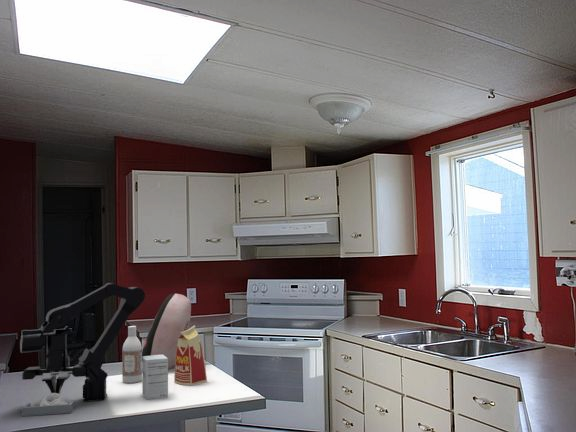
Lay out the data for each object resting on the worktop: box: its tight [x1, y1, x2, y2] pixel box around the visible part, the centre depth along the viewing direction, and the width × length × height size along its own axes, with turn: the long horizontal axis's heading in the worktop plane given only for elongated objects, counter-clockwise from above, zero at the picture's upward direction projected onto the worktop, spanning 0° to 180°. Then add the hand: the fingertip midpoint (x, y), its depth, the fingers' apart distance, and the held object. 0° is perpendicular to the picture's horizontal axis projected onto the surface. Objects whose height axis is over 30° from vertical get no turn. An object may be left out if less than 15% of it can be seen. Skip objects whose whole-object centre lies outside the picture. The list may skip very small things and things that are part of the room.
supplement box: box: [141, 355, 169, 400], centre depth 180 cm, size 7×7×13 cm
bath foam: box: [121, 325, 143, 384], centre depth 201 cm, size 7×7×20 cm
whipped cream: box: [39, 392, 69, 406], centre depth 168 cm, size 8×7×5 cm
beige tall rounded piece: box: [142, 293, 192, 370], centre depth 225 cm, size 22×20×30 cm
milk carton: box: [173, 325, 208, 386], centre depth 198 cm, size 9×9×20 cm
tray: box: [21, 399, 76, 417], centre depth 163 cm, size 14×5×2 cm, turn 99°
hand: (56, 399), depth 171 cm, fingers closed
